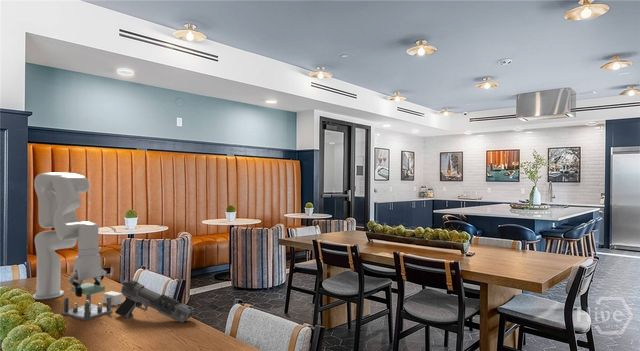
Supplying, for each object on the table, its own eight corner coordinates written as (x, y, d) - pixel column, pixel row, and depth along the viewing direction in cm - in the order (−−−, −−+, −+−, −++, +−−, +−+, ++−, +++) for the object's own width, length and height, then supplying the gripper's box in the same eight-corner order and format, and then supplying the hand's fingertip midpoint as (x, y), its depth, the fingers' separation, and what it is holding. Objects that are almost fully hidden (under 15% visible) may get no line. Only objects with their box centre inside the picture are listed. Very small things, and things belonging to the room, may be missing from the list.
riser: (103, 302, 183) (103, 293, 183) (111, 300, 186) (111, 291, 186) (114, 305, 179) (114, 295, 179) (122, 303, 182) (122, 293, 182)
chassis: (62, 313, 168) (62, 298, 168) (90, 305, 178) (90, 291, 178) (84, 320, 160) (84, 304, 160) (112, 311, 171) (112, 296, 171)
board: (71, 291, 169) (71, 286, 169) (87, 287, 175) (87, 282, 175) (88, 295, 163) (88, 290, 163) (104, 290, 169) (104, 286, 169)
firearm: (179, 344, 158) (191, 309, 157) (110, 311, 164) (121, 277, 163) (185, 340, 162) (196, 306, 161) (117, 308, 168) (128, 275, 167)
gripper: (102, 248, 179) (102, 288, 179) (61, 254, 163) (61, 298, 163) (112, 249, 175) (112, 290, 175) (72, 256, 160) (72, 300, 160)
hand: (87, 293), depth 169 cm, fingers closed on board, 7 cm apart
